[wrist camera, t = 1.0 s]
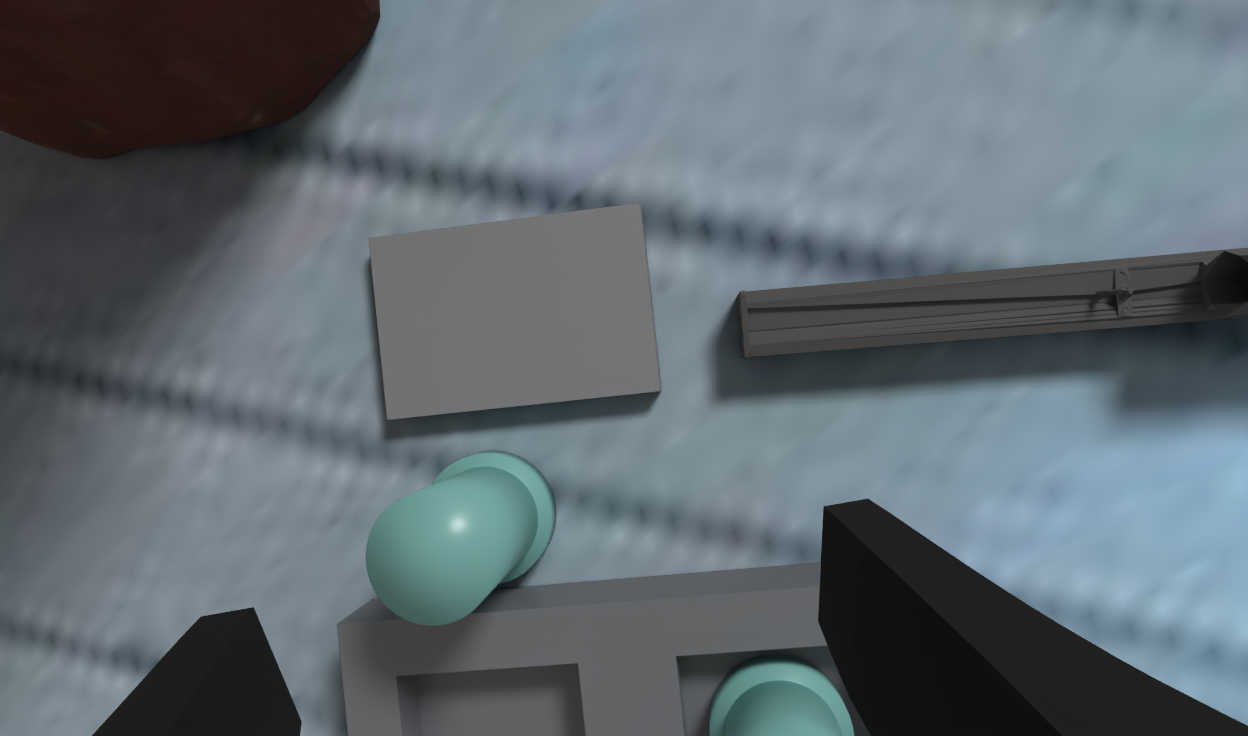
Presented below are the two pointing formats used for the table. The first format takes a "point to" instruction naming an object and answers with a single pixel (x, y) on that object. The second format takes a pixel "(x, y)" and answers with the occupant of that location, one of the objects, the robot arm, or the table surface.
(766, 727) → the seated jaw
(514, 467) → the peg
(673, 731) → the housing
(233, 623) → the robot arm
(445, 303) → the lid
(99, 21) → the sculpture
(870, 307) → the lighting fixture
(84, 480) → the table surface
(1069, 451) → the table surface
